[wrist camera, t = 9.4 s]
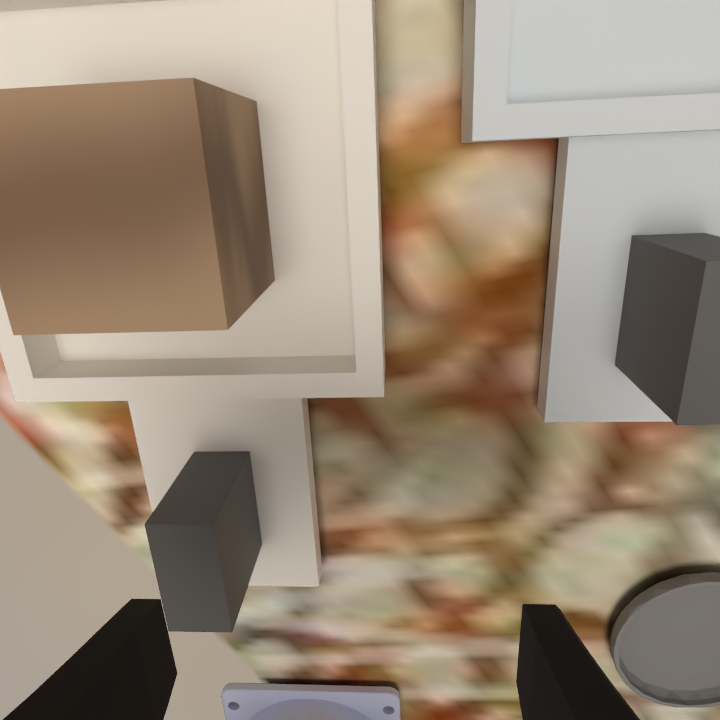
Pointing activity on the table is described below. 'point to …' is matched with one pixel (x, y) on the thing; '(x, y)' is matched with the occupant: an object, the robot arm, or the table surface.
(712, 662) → the pocket watch
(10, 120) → the walnut cube
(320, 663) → the table surface
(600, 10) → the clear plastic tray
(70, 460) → the table surface
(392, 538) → the table surface
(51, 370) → the white tray
